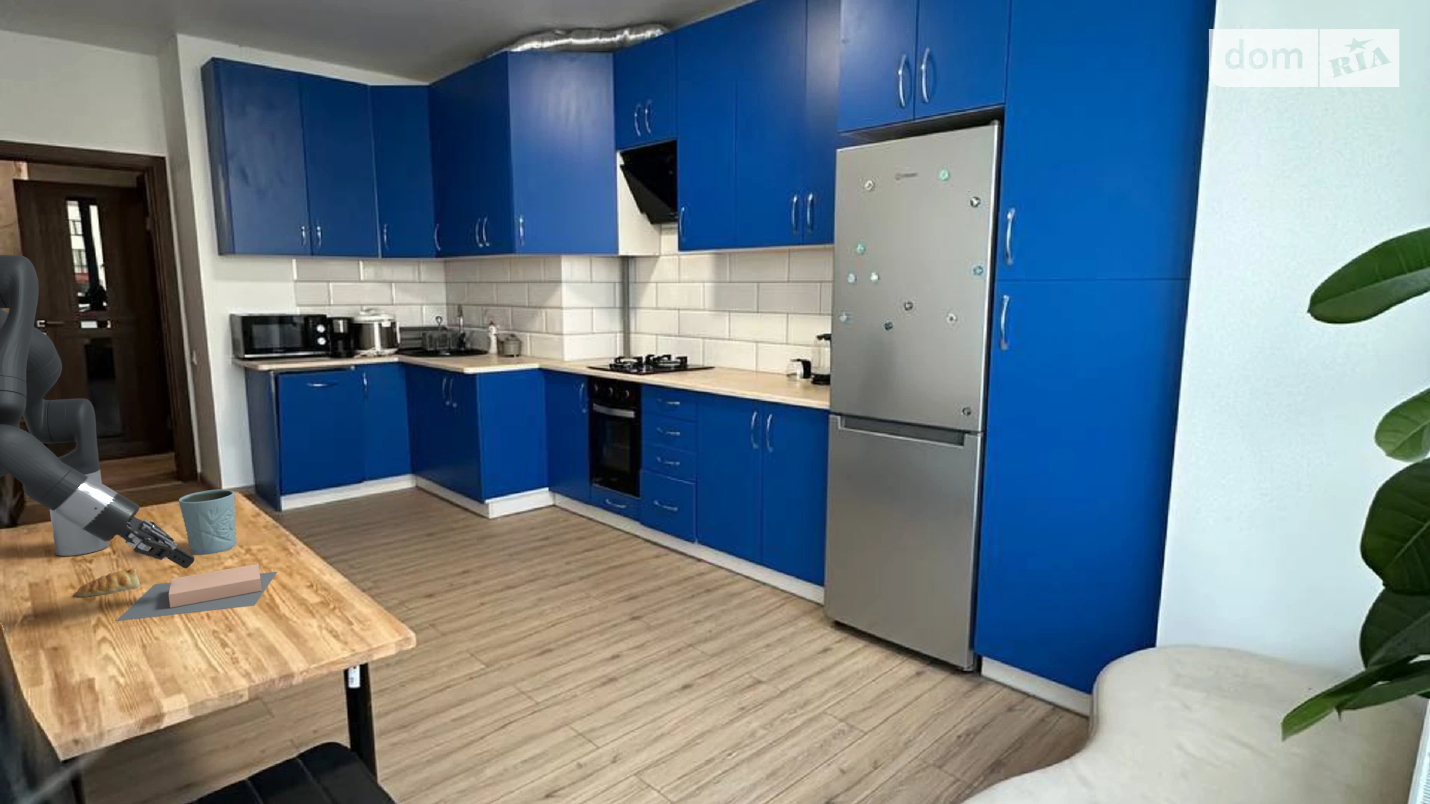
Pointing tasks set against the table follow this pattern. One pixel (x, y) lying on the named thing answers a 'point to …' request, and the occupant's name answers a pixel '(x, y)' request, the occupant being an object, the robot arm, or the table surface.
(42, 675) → the table surface
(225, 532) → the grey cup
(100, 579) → the pastry
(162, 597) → the mat
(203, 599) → the tile
